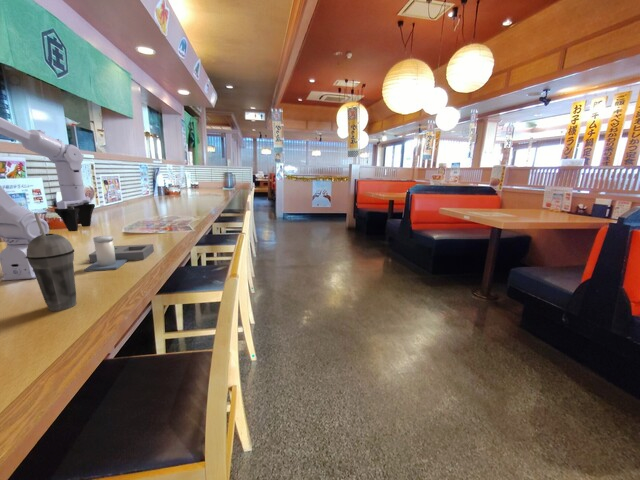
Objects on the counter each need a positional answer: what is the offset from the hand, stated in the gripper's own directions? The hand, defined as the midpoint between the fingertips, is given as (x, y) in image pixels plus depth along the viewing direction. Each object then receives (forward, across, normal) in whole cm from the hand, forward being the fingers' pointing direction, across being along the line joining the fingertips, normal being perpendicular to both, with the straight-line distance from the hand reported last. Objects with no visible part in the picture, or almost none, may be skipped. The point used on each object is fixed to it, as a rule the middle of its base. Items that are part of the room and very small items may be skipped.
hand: (80, 228), depth 94 cm
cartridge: (+9, -12, -11) cm, 18 cm away
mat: (+9, -12, -11) cm, 18 cm away
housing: (+9, -2, -12) cm, 15 cm away
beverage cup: (+10, -39, -14) cm, 43 cm away
